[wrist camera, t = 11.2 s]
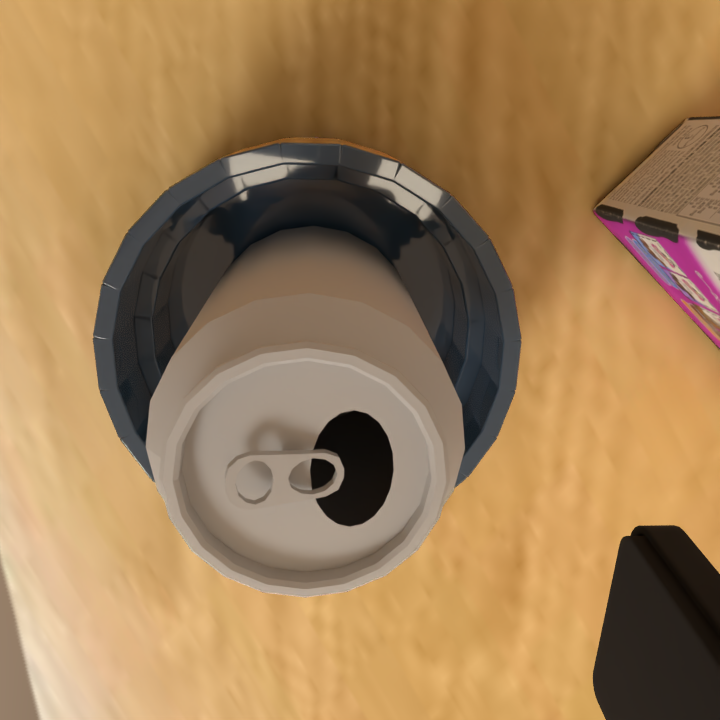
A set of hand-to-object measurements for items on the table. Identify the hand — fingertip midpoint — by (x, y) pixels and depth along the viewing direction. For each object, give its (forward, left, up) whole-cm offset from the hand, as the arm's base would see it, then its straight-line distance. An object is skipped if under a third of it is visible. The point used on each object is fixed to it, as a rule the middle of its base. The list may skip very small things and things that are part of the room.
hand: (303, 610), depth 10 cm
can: (+1, 0, -17) cm, 17 cm away
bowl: (+1, 0, -17) cm, 17 cm away
